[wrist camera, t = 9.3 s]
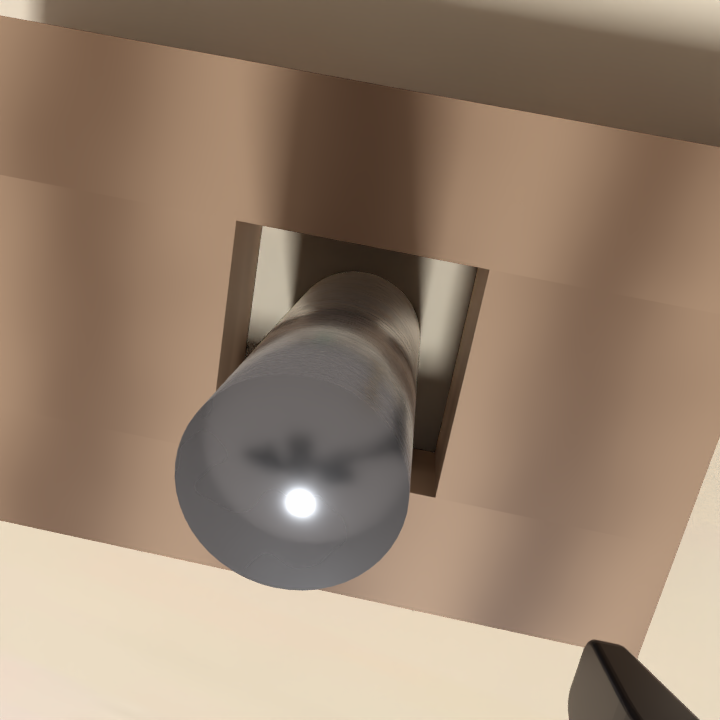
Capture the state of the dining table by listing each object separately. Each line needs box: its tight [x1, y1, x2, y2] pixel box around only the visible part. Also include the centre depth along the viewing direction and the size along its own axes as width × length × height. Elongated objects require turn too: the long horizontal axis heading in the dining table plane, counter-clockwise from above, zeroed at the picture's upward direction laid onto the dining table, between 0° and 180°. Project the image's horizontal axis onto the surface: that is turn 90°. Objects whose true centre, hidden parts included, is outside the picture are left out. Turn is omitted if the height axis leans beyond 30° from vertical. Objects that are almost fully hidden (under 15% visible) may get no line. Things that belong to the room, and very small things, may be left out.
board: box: [0, 16, 720, 659], centre depth 20 cm, size 20×14×3 cm
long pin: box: [175, 271, 420, 590], centre depth 16 cm, size 4×4×10 cm
